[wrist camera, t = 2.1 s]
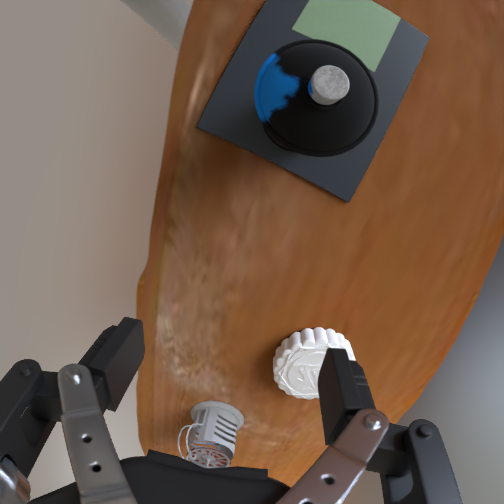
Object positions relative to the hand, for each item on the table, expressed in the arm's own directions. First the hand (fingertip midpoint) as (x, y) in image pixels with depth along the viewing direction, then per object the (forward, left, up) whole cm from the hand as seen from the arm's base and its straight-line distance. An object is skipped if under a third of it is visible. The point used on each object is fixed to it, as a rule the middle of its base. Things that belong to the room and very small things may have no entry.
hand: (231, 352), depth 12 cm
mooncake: (+17, -15, -26) cm, 35 cm away
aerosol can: (-1, +13, -26) cm, 28 cm away
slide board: (-1, +20, -26) cm, 32 cm away
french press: (+9, -35, -26) cm, 45 cm away
